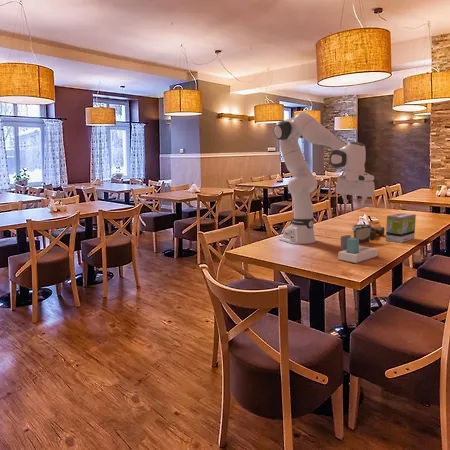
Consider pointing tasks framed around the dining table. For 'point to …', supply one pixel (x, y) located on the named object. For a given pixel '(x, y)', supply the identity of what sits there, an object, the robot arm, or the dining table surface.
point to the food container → (362, 232)
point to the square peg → (353, 245)
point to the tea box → (400, 227)
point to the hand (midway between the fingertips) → (353, 204)
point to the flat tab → (344, 242)
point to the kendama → (376, 232)
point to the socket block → (358, 255)
